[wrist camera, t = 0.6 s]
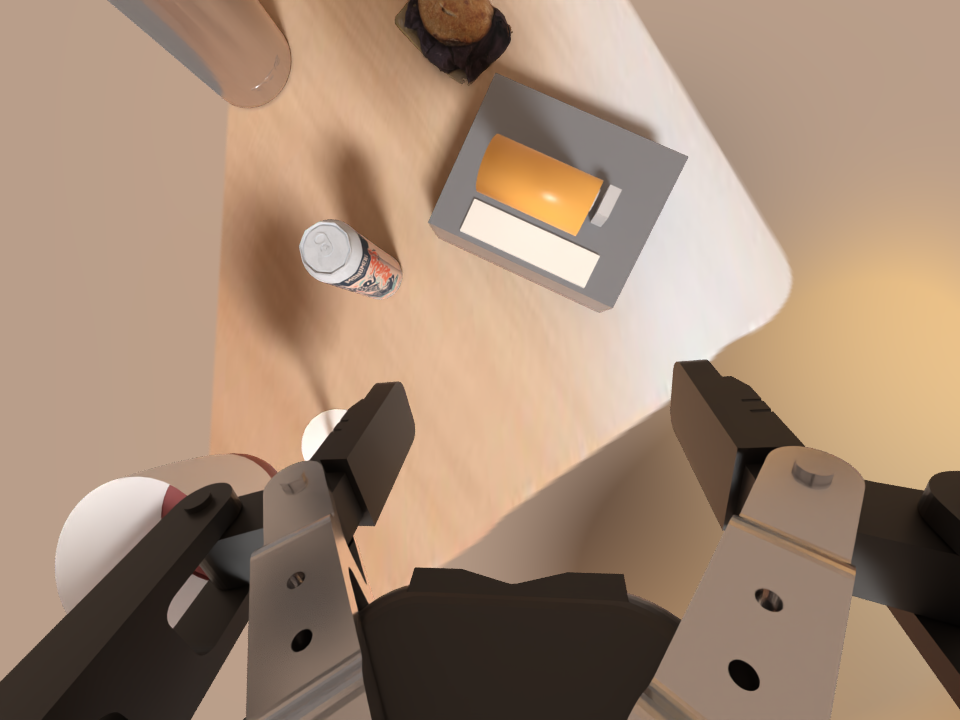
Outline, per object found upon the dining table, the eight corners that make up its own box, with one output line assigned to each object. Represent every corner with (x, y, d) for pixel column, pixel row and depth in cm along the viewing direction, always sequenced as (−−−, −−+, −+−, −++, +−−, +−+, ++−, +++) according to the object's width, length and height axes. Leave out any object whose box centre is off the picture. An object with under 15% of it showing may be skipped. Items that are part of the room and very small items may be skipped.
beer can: (373, 308, 40) (314, 293, 28) (350, 269, 40) (281, 237, 28) (412, 284, 39) (368, 258, 27) (388, 245, 39) (335, 202, 27)
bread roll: (391, 29, 39) (378, -3, 35) (447, -37, 38) (440, -77, 34) (464, 100, 38) (459, 74, 35) (522, 35, 38) (523, 1, 34)
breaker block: (599, 312, 38) (621, 305, 30) (438, 238, 39) (421, 212, 31) (664, 182, 37) (703, 141, 29) (497, 108, 38) (494, 50, 30)
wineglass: (393, 429, 40) (252, 533, 18) (353, 504, 41) (169, 693, 19) (323, 388, 40) (102, 443, 19) (284, 464, 41) (27, 603, 19)
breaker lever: (586, 217, 33) (583, 244, 20) (512, 184, 33) (462, 188, 20) (604, 181, 31) (613, 184, 18) (527, 147, 31) (482, 126, 18)
